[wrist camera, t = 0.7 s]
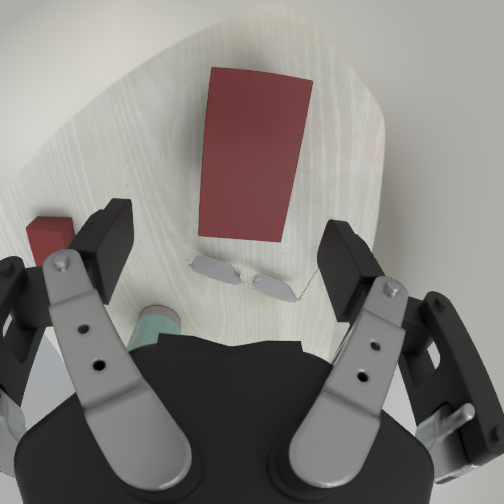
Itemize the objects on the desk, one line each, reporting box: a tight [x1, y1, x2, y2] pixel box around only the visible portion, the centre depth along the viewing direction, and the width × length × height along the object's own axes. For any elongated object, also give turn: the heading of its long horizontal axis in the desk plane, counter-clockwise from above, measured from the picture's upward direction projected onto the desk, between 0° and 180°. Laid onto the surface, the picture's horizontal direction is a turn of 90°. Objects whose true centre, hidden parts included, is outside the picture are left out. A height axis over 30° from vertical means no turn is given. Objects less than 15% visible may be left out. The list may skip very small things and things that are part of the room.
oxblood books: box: [26, 216, 75, 266], centre depth 30 cm, size 12×6×3 cm, turn 172°
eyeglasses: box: [187, 236, 319, 302], centre depth 31 cm, size 14×8×4 cm, turn 64°
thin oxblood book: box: [198, 67, 313, 242], centre depth 19 cm, size 12×6×2 cm, turn 172°
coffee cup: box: [126, 305, 180, 351], centre depth 34 cm, size 9×8×12 cm
